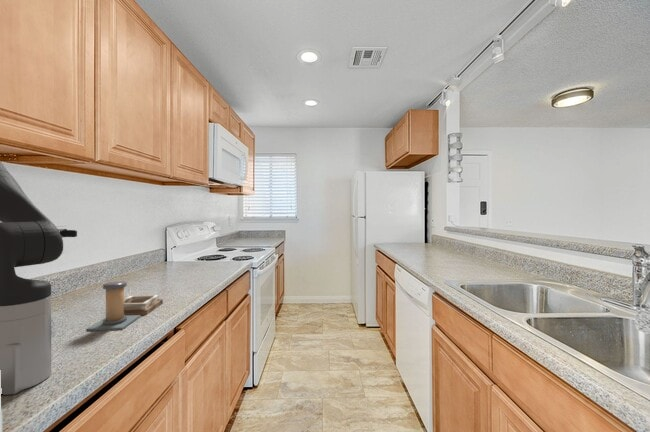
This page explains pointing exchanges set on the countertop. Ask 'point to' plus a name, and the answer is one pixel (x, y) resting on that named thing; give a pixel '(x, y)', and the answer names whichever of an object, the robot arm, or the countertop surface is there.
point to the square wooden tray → (141, 304)
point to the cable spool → (114, 303)
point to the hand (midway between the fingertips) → (65, 234)
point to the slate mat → (120, 326)
